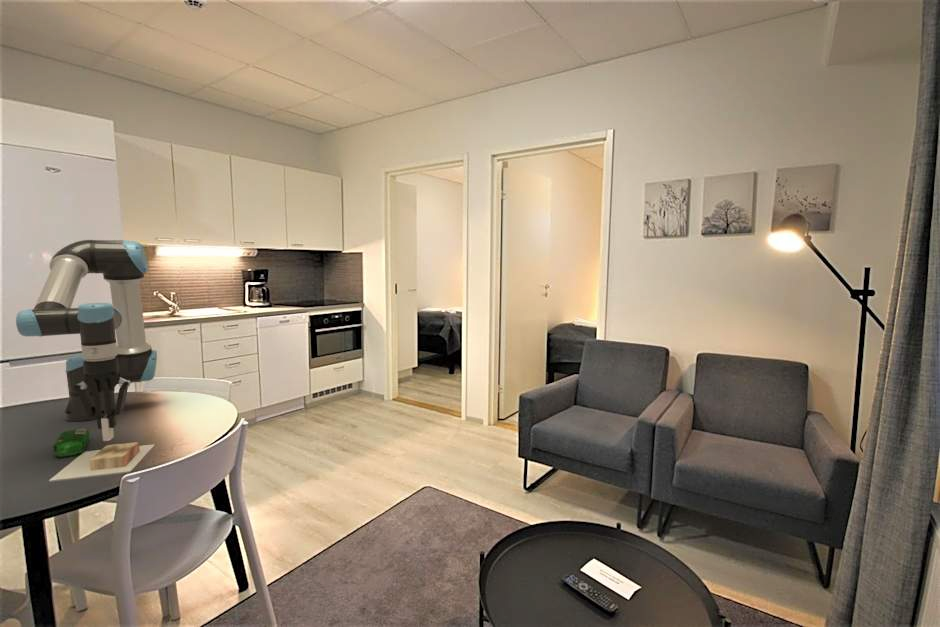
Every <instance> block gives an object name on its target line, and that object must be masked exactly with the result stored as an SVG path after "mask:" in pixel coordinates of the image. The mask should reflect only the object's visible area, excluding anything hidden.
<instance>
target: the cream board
mask: <svg viewBox="0 0 940 627" xmlns="http://www.w3.org/2000/svg"><path fill="white" fill-rule="evenodd" d="M155 445H156V444H145V445H139V449H140V452H139V453H138V454H137V455H136V456H135V457H134V458H133V459H132V460H131V461H130V462H129V463H128V464H127V465H126V466H125V467H117V468H108V469H100V470H91V471H90V461H89V460H90V459H91V458H93V457H94V456H95V455H96V454H97V453H98V452H100V451H101V450H102V449H96V450H89V451H88V450H87V451H85V450H84V451H83V452H82V453H80V455H78V456H77V457H76V458H75V459H73V460H72V461H71V462H70V463H69V464H68V465H66V466H64V467H63V469H61V470H60V471H59V472H58V473H57V474H55V475H54V476H52V477H51V478H50V479H49V480H48V482H49V483H52V482H60V481H67V480H68V481H69V480H76V479H84V478H93V477H105V476H110V475H119V474H128V473H132V472H131V471H132V470H133V469H134V468H135V467H137V465H138V464H139V463H140V462H141V461H142V460H143V459H144V458H145V456H147V454H148V453H149V452H150V451H151V450H152V449H153V447H155Z"/></svg>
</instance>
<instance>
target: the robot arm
mask: <svg viewBox="0 0 940 627" xmlns="http://www.w3.org/2000/svg"><path fill="white" fill-rule="evenodd" d="M148 265H149V264H148V259H147V255H146V252H145V249H144V246H143V245H142V244H141V243H140V242H138V241H133V240H123V239H122V240H121V239H119V240H117V239H116V240H115V239H114V240H111V239H110V240H109V239H106V240H105V239H103V240H102V239H83V240H78V241H75V242H73V243H70V244H67V245H65V246H64V247H62V248H61V249H60V250H58V251H56V253H55V254H54V255H53V256H52V257H51V260H50V262H49V270H50V272H49V274H48V276H47V279H46V281H45V283H44V286H43V287H42V290H41V292H40V293H39V297H38V299H37V301H36V303H35V306H34V307H33V309H32V308H28V309H23V310H20V311H19V312H18V313H17V314H16V317H15V323H16V329H17V332H18V333H19V335H20V336H23V337H41V338H42V337H47V336H48V337H49V336H62V335H79V336H80V343H81V344H80V345H81V353H78V354H75V355H72V356H70V357H68V358H67V359H66V361H65V373H66V380H67V381H66V382H67V388H68V401H67V403H66V406H65V409H64V420H65V421H68V422H83V421H85V422H86V421H92V420H96V421H97V428H98V430H101V434H102V441H103V442H108V441H111V440H112V439H113V438H114V437H115V435H114V428H115V427H116V426H117V416H118V415H120V414H122V413H123V412H124V410H125V409H124V408H125V404H126V400H127V394H128V389H129V387H130V386H131V384H132V383H141V382H147V381H148V382H149V381H152V380H153V379H154V378H155V376H156V369H157V360H158V355H157V354H158V351H157V350H154V349H153V350H152V346H151V344H149V343H147V340H146V333H145V332H146V330H145V321H144V312H143V302H142V293H141V287H140V286H141V285H140V282H141V281H142V280H143V279H144V278H145V274H147V273H149V266H148ZM87 274H102V276H103V279H104V281H106V282H107V283H108V284H109V288H110V295H111V303H109V302H90V303H89V302H88V303H82V304H79V305H78V307H75V308H73V307H72V306H73V303H74V299H75V297H76V295H77V291H78V289H79V285H80V283H81V281H82V278H83V279H84V278H85V277H86V276H87ZM117 385H119V386H118V387H119V390H118V394H117V399H115V392H116V391H115V388H116V386H117Z"/></svg>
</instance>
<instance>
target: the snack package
mask: <svg viewBox="0 0 940 627" xmlns="http://www.w3.org/2000/svg"><path fill="white" fill-rule="evenodd" d="M89 439H90V431H89V429H88V428H77V429H70V430H66V431H62V432H60V434H59V435H58V436H57V437H56V440H55V442H54V444H53V451H54V455H55V456H57V457H60V458H62V457H63V458H64V457H68V456H75V455H79V454H80V455H81V454H82V453H84V452H85V449H86V446H87V445H88V442H89Z"/></svg>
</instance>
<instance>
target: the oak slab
mask: <svg viewBox="0 0 940 627" xmlns="http://www.w3.org/2000/svg"><path fill="white" fill-rule="evenodd" d="M139 446H140V442H138V441H137V442H126V443H115V444H107V445H105V446H104V447H103V448H102V449H100V450H101V451H100V452H98V453H97V454H96V455H95V456H94V457H93V458H91V459H90V460H89V461H90V471H91V470H100V469H108V468H117V467H125V466H126V465H127V464H128V463H129V462H130V461H131V460H132V459H133V458H134V457H135V456H136V455H137V454H138V453H139V452H140V449H139Z"/></svg>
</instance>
